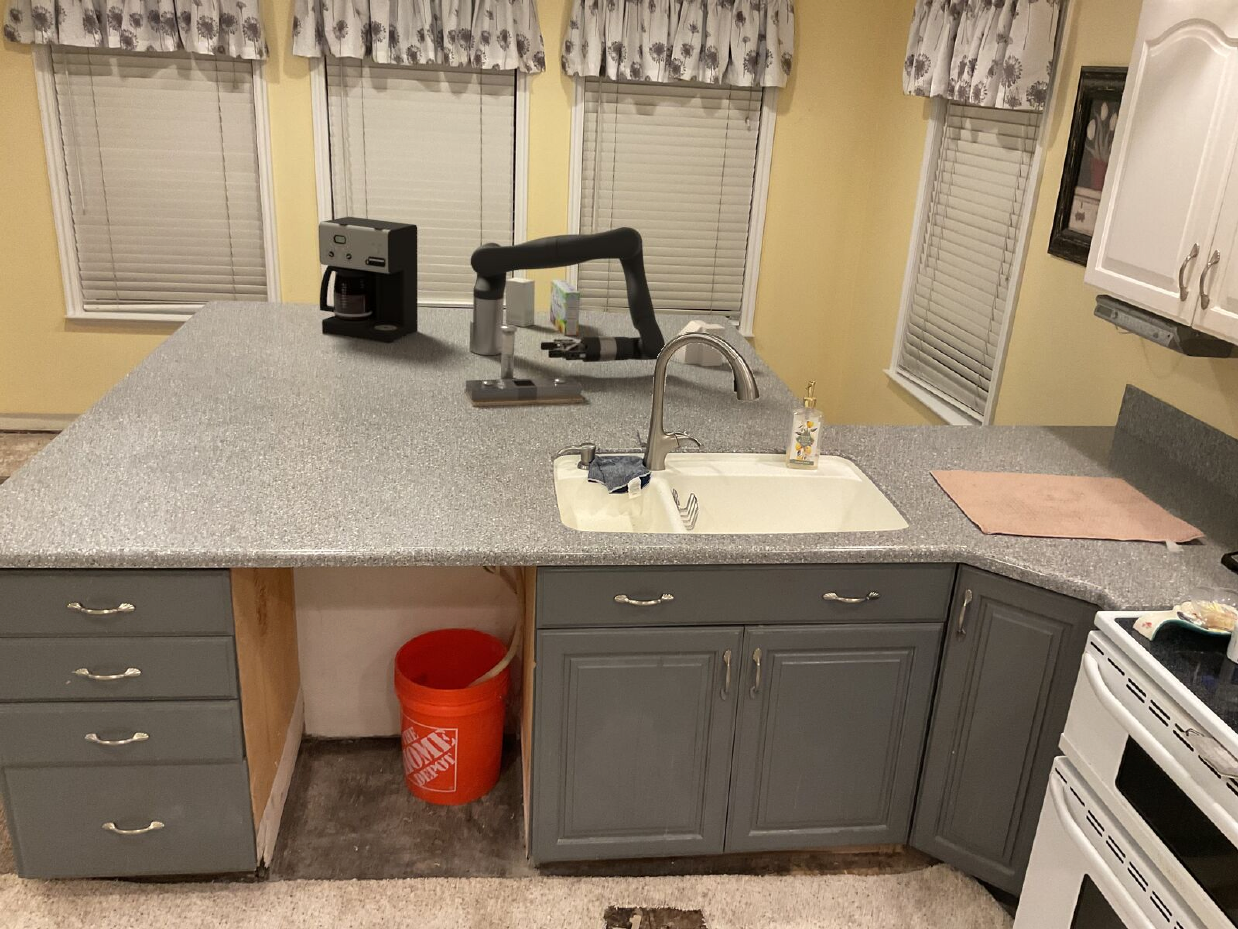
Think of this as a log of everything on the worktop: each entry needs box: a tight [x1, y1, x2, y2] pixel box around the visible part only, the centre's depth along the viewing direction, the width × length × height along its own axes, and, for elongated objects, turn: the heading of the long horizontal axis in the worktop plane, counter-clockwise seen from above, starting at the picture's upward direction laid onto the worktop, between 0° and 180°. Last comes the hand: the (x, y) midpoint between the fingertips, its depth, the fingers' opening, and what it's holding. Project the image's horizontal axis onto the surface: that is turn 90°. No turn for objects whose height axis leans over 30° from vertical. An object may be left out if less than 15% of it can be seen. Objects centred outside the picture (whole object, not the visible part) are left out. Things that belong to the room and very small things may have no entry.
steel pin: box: [500, 324, 518, 379], centre depth 288 cm, size 5×5×15 cm
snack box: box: [549, 279, 581, 337], centre depth 348 cm, size 21×6×15 cm, turn 17°
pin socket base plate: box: [463, 376, 584, 407], centre depth 274 cm, size 30×12×5 cm, turn 109°
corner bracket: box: [674, 319, 726, 367], centre depth 320 cm, size 11×11×12 cm
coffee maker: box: [318, 216, 419, 344], centre depth 322 cm, size 28×20×35 cm
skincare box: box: [505, 276, 536, 328], centre depth 349 cm, size 8×7×16 cm
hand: (544, 349), depth 291 cm, fingers open, 8 cm apart
